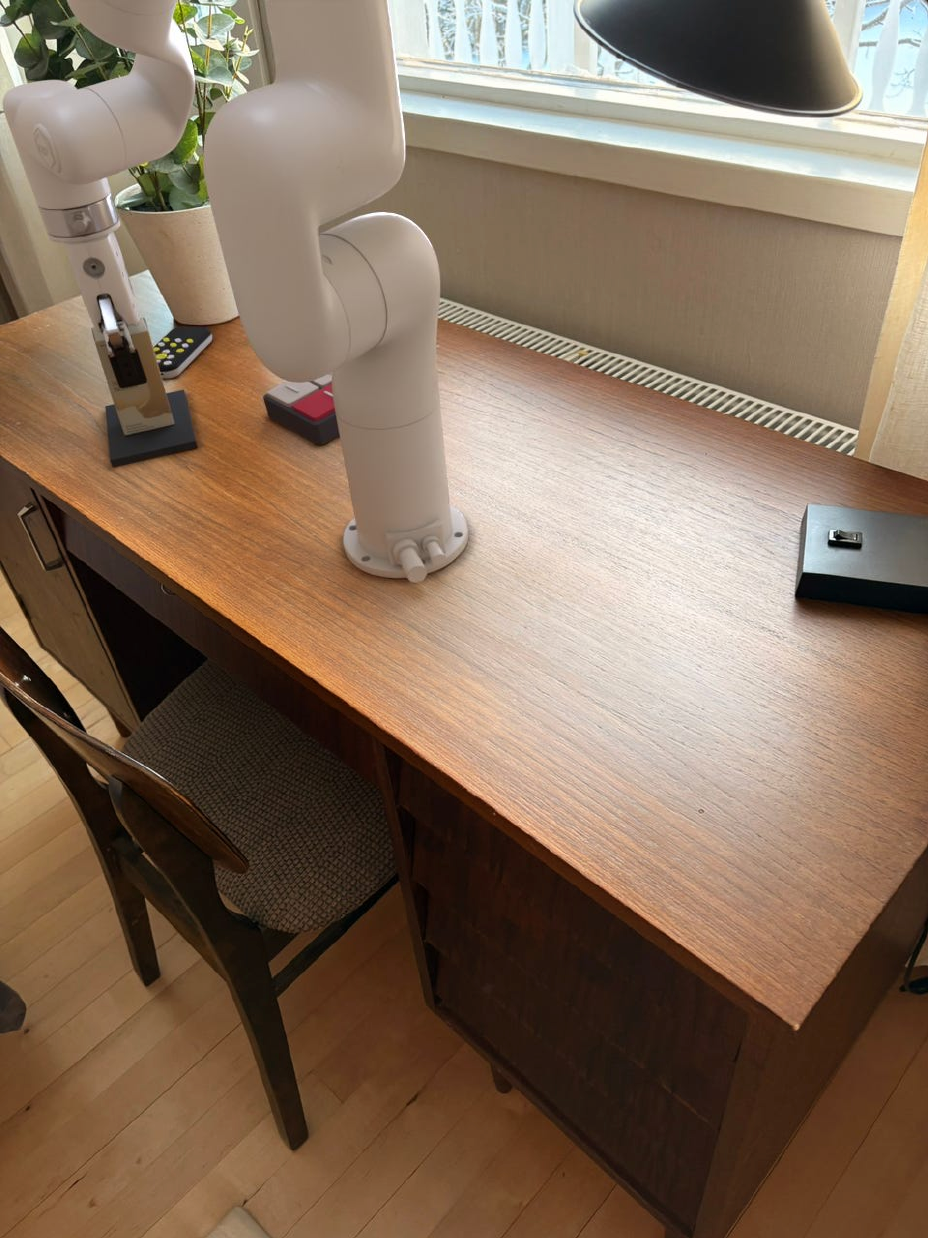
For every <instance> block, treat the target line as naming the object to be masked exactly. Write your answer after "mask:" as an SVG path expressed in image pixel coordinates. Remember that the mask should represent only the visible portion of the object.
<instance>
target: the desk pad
mask: <svg viewBox="0 0 928 1238" xmlns="http://www.w3.org/2000/svg"><path fill="white" fill-rule="evenodd" d="M166 395H167V398H168V402H169V405H170V409H171V412H172V416H173V420H174V425H170V426H165V427H161V428H157V429H152V430H148V431H143V432H139V433H134V434H130V435H124V432H123V429H122V426H121V423H120V420H119V417H118V414H117V411H116V408H115V405H114V403H113V404H109V405H105V406H104V407H105V419H106V429H107V441H108V452H109V462H110V464H111V466H112V467H113V468H115V467H119V466H123V465H127V464H133V463H138V462H141V461H147V460H150V459H154V458H159V457H163V456H168V455H172V454H177V453H180V452H185V451H189V450H190V451H191V450H194V449H198V448H199V446H198V443H197V438H196V433H195V429H194V425H193V421H192V417H191V412H190V407H189V403H188V399H187V395H186V392H185V389H179V390H174V391H170V392H166Z"/></svg>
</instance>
